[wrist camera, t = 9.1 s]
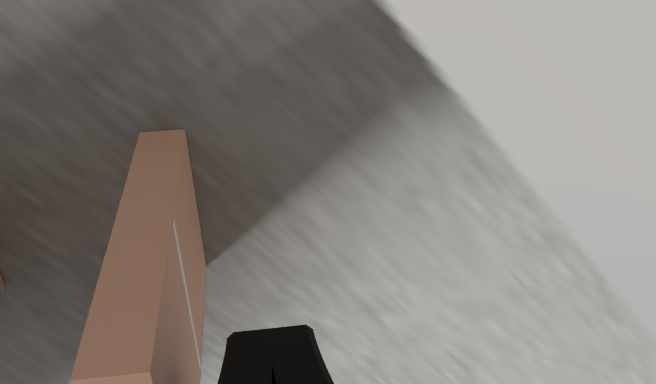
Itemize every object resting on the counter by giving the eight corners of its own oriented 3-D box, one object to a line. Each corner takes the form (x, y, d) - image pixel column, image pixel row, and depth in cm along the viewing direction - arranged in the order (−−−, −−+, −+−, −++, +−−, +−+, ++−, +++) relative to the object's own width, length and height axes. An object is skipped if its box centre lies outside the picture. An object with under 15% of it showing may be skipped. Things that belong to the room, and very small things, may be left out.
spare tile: (167, 270, 16) (129, 545, 10) (139, 132, 14) (68, 380, 8) (206, 266, 16) (191, 536, 10) (185, 128, 14) (150, 371, 8)
